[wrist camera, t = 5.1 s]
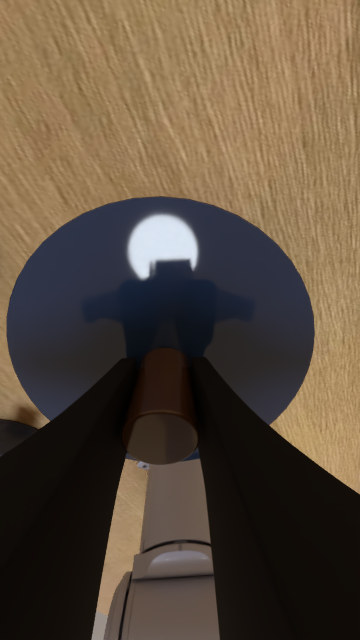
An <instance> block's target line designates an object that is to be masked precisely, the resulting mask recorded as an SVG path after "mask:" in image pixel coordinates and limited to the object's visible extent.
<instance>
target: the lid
mask: <svg viewBox="0 0 360 640" xmlns="http://www.w3.org/2000/svg"><path fill="white" fill-rule="evenodd" d="M314 336H315V329H314V315H313V311H312V306H311V302H310V297H309V295H308V292H307V290H306V287H305V285H304V282H303V280H302V278H301V276H300V274H299V273H298V271H297V269H296V268H295V266H294V264H293V263H292V261H291V260H290V259H289V257H288V256H287V255H286V254H285V253H284V252H283V250H282V249H281V248H280V247H279V246H278V244H277V243H276V242H274V241H273V240H272V239H271V238H270V237H269V236H267V235H266V234H265V233H264V232H263V231H261V230H260V229H259V228H258V227H256V226H254V225H253V224H251V223H250V222H248V221H246V220H245V219H243V218H241V217H240V216H238V215H236V214H234V213H231V212H229V211H226V210H224V209H222V208H219V207H217V206H214V205H211V204H207V203H203V202H199V201H195V200H191V199H185V198H174V197H163V196H158V197H142V198H131V199H127V200H122V201H118V202H113V203H109V204H106V205H103V206H100V207H98V208H95V209H93V210H90V211H88V212H85V213H83V214H81V215H79V216H78V217H76V218H74V219H73V220H71V221H69V222H68V223H66V224H64V225H63V226H61V227H60V228H59V229H58V230H56V231H55V232H54V233H53V234H52V235H50V236H49V237H48V238H47V239H46V240H45V241H43V242H42V244H41V245H40V246H39V247H38V248H37V250H36V251H35V252H34V253H33V254H32V256H31V257H30V258H29V259H28V261H27V262H26V264H25V266H24V268H23V269H22V271H21V273H20V275H19V276H18V278H17V280H16V283H15V286H14V289H13V291H12V294H11V297H10V302H9V307H8V313H7V342H8V349H9V355H10V358H11V361H12V364H13V368H14V371H15V373H16V375H17V377H18V379H19V381H20V383H21V385H22V387H23V389H24V390H25V392H26V393H27V395H28V396H29V398H30V399H31V401H32V402H33V403H34V404H35V406H36V407H37V408H38V409H39V410H40V412H41V413H42V414H43V415H44V416H45V417H47V418H48V419H49V420H50V421H51V420H53V419H54V418H55V417H57V416H58V415H59V414H60V413H62V412H63V411H64V410H65V409H67V408H68V407H69V406H70V405H71V404H73V403H74V402H75V401H76V400H77V399H78V398H80V397H81V396H82V395H83V394H84V393H85V392H87V391H88V390H89V389H90V388H91V387H92V386H93V385H94V384H95V383H96V382H97V381H99V380H100V379H101V378H102V377H103V376H104V375H105V374H106V373H107V372H108V371H109V370H110V369H111V368H112V367H113V366H114V365H115V364H116V363H117V362H118V361H119V360H121V359H122V358H136V362H137V376H136V380H135V383H134V387H133V391H132V394H131V398H130V402H129V405H128V409H127V413H126V416H125V420H124V424H123V427H122V431H121V442H122V445H123V447H124V449H125V451H126V452H127V455H126V458H125V459H130V460H136V461H141V462H144V463H147V464H152V465H168V464H173V463H177V462H183V461H189V460H196V459H200V457H199V451H198V444H199V441H200V429H199V422H198V414H197V407H196V400H195V393H194V387H193V379H192V372H191V366H192V357H206V358H207V359H208V360H209V361H210V363H211V364H212V365H213V367H214V368H215V369H216V371H217V372H218V373H219V374H220V376H221V377H222V378H223V379H224V380H225V381H226V383H227V384H228V385H229V386H230V387H231V388H232V389H233V391H234V392H235V393H236V394H237V395H238V396H239V397H240V398H241V399H242V400H243V401H244V402H245V403H246V404H247V405H248V406H249V407H250V408H251V409H252V410H253V411H254V412H255V413H256V414H257V415H258V416H259V417H260V418H261V419H262V420H263V421H265V422H266V423H267V424H268V425H270V424H271V423H272V422H273V421H275V420H276V419H277V418H278V417H279V416H280V414H281V413H282V412H283V411H284V410H285V409H286V408H287V407H288V405H289V404H290V403H291V401H292V400H293V398H294V397H295V396H296V394H297V392H298V390H299V389H300V387H301V385H302V383H303V381H304V379H305V376H306V374H307V371H308V369H309V366H310V362H311V358H312V353H313V347H314Z"/></svg>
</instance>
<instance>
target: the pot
mask: <svg viewBox="0 0 360 640" xmlns="http://www.w3.org/2000/svg"><path fill="white" fill-rule="evenodd" d="M37 431H38V430H37V429H35V428H33V427H30V426H28V425H25V424H22V423H18V422H14V421H9V420H0V456H2V455H3V454H5V453H6V452H8V451H9V450H11V449H12V448H14V447H15V446H17V445H18V444H20V443H21V442H23V441H24V440H26V439H27V438H28V437H30V436H31V435H33V434H34V433H35V432H37Z"/></svg>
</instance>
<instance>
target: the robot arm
mask: <svg viewBox="0 0 360 640" xmlns="http://www.w3.org/2000/svg"><path fill="white" fill-rule="evenodd" d="M191 372H192V379H193V387H194V393H195V400H196V407H197V414H198V422H199V429H200V441H199V444H198V451H199V457H200V459H196V460H189V461H183V462H177V463H173V464H168V465H152V464H147V463H144V462H141V461H138V463H137V466H138V467H139V468H142V469H146V470H148V479H147V488H146V497H145V506H144V516H143V525H142V534H141V543H140V552H139V554H136V555H134V562H133V570H132V571H128V572H126V573H125V574H124V576H123V578H122V580H121V582H120V583H119V585H118V586H117V588H116V590H115V593H114V596H113V599H112V602H111V606H110V610H109V614H108V619H107V624H106V629H105V634H104V640H360V494H358V493H357V492H355V491H354V490H352V489H351V488H350V487H348V486H347V485H345V484H344V483H342V482H341V481H339V480H338V479H337V478H335V477H334V476H333V475H331V474H330V473H328V472H327V471H326V470H324V469H323V468H322V467H320V466H319V465H318V464H316V463H315V462H314V461H312V460H311V459H310V458H309V457H307V456H306V455H305V454H303V453H302V452H301V451H299V450H298V449H297V448H296V447H294V446H293V445H292V444H290V443H289V442H288V441H287V440H285V439H284V438H283V437H282V436H281V435H279V434H278V433H277V432H276V431H275V430H274V429H273V428H271V427H270V426H269V425H268V424H267V423H266V422H265V421H263V420H262V419H261V418H260V417H259V416H258V415H257V414H256V413H255V412H254V411H253V410H252V409H251V408H250V407H249V406H248V405H247V404H246V403H245V402H244V401H243V400H242V399H241V398H240V397H239V396H238V395H237V394H236V393H235V392H234V391H233V389H232V388H231V387H230V386H229V385H228V384H227V383H226V381H225V380H224V379H223V378H222V377H221V376H220V374H219V373H218V372H217V371H216V369H215V368H214V367H213V365H212V364H211V363H210V361H209V360H208V359H207V358H206V357H192V366H191ZM136 376H137V362H136V358H122V359H121V360H119V361H118V362H117V363H116V364H115V365H114V366H113V367H112V368H111V369H110V370H109V371H108V372H107V373H106V374H105V375H104V376H103V377H102V378H101V379H100V380H99V381H97V382H96V383H95V384H94V385H93V386H92V387H91V388H90V389H89V390H88V391H87V392H85V393H84V394H83V395H82V396H81V397H80V398H78V399H77V400H76V401H75V402H74V403H73V404H71V405H70V406H69V407H68V408H67V409H65V410H64V411H63V412H62V413H60V414H59V415H58V416H57V417H55V418H54V419H53V420H51V421H50V422H49V423H48V424H46V425H45V426H43V427H42V428H41V429H39V430H38V431H37V432H35V433H34V434H33V435H31V436H30V437H28V438H27V439H26V440H24V441H23V442H21V443H20V444H18V445H17V446H15V447H14V448H12V449H11V450H9V451H8V452H6V453H5V454H3V455H2V456H0V640H91V639H92V632H93V626H94V620H95V613H96V608H97V602H98V596H99V590H100V584H101V578H102V572H103V566H104V560H105V555H106V549H107V543H108V538H109V532H110V526H111V521H112V516H113V510H114V505H115V499H116V494H117V490H118V485H119V481H120V477H121V473H122V469H123V466H124V462H125V458H126V455H127V452H126V451H125V449H124V447H123V445H122V442H121V431H122V427H123V424H124V420H125V416H126V413H127V409H128V405H129V402H130V398H131V394H132V391H133V387H134V383H135V380H136Z"/></svg>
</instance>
